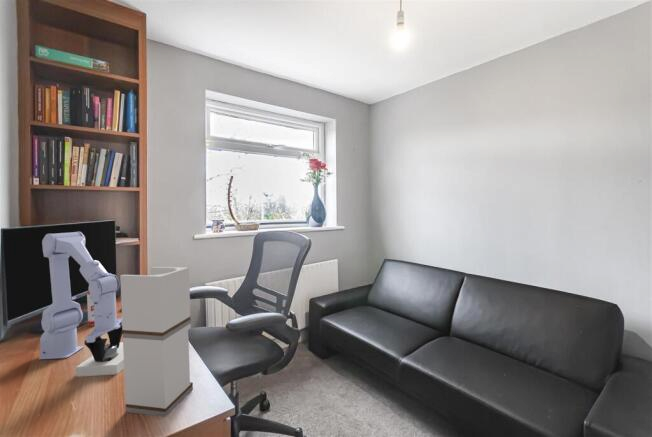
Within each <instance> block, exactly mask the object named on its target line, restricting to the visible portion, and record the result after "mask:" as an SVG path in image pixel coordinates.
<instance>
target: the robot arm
mask: <svg viewBox="0 0 652 437" xmlns="http://www.w3.org/2000/svg"><path fill="white" fill-rule="evenodd" d="M41 243H42V244H41V245H42V253H43V258H48V261H49V263H48V264H49V274H50V284H51V285H50V286H51V287H50V288H51V297H52V303H51V304H50V305H49V306H48V307H46V308H45V309H44V310H43V311H42V317H41V322H40V323H41V328H42V330H43V331H44V332H43V333H42V334H41V336H40V340H39V348H40V350H39V352H40V357H38V360H52V359H67V358H69V357H71V356H73V355H75V353H77V352H79V351H80V350H82V349H83V348H84V347H85V346H86V347H87V348H88V350H89V351H90V352H91V356H93V357H94V360H95V361H102V360H103V358H104V348H105V345H107V341H108V340H109V344H116V345H117V349H118V348H119V344H120V342H121V340H122V338H123V329H122V317H118V316H117V297H116V296H117V294H116V293H117V292H118V291H119V290H120V287H121V282H120V280H119V278H118V277H117V275H116V274H112V273H111V272H108V271H107V270H106V269H105V267H104V265H102V263H101V262H100V261H99V260H98V259H97V260H96V259H95V260H94V259H93V257H92V256H91V254H90V252H89V251H88V249H87V247H86V236H85V234H83V232H82V231H73V232H60V233H59V232H58V233H46V234H45V235H44V237H43V239H42V241H41ZM70 257H71V258H73V259H74V261H75V262H77V264H78V265H80V268H79V272H80V274H81V275H82V277H83V278H84V280H85V281H86V283H88V288H87V289H88V291H89V292H90V294H91V300H92V302H94V320H95V325H94V328H93V330H91V332H90V333H88V335H87V336H85V338H86V340H84V341H83V342H84V345H79V346H78V330H77V329H78V328H77V327H79V326H80V323H81V322H82V321H83V318H84V315H83V314H84V313H83V311H82V308H81V304H80V303H79V302H76V301H74V300H72V291H71V279H70V266H69V258H70ZM117 317H118V318H117ZM105 334H107V336H108V338H102V336H103V335H105Z"/></svg>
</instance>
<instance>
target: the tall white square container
mask: <svg viewBox="0 0 652 437" xmlns="http://www.w3.org/2000/svg"><path fill="white" fill-rule="evenodd" d="M119 276H120V277H119V278H120V280H119V281H120V300H121V305H120V306H121V318H122V324H121V325H122V329H123V334H122V342H123V353H124V369H123V373H124V374H123V375H124V378H123V379H124V397H125V398H124V399H125V412H126V413H135V414H142V415H151V416H155V417H163V418H164V417H167V416H168V415H169V414H170V413H171V412H172V411H173V410H174V409H175V408H176V407H177V406H178V405H179V404H180V403H181V402H182V401H183V400H185V398H186V397H187V396H188V395H189V394H190V393H191V392H192V391H193V390H194V389H193V388H194V386H193V382H191V378H190V377H191V376H190V375H191V373H190V351H189V350H190V346H189V343H190V342H189V340H190V339H189V330H191V329H192V325H191V324H192V322H191V321H192V320H191V296H190V295H191V294H190V293H191V290H190V288H191V287H190V267H185V266H184V267H182V266H181V267H180V266H179V267H178V266H175V267H174V266H151V267H150V274H147V275H145V274H121V275H119Z"/></svg>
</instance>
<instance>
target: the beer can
mask: <svg viewBox="0 0 652 437" xmlns="http://www.w3.org/2000/svg"><path fill="white" fill-rule="evenodd" d="M86 301H87V302H86V304H87V306H86V307H87V322H88V323H87V324H88V325H89V326H92V325H93V326H95V320H94V302H92V300H91V294H90V292H89V290H88V291H87V293H86Z"/></svg>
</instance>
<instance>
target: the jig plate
mask: <svg viewBox="0 0 652 437" xmlns="http://www.w3.org/2000/svg"><path fill="white" fill-rule="evenodd" d="M122 371H124V353H123V341H120V344H119V348H118V349H117V357H115V358H114V359H112V360H111V361H106V362H96V361H95V360H94V357H93V355H91V356H90V357H88V358H86V360H84V361H83V362H81V363H80V364H78V365H77V366H76V367H75V377H76V378H79V377H80V378H81V377H94V376H95V377H96V376H110V375H111V376H113V375H118V374H120V372H122Z"/></svg>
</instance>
